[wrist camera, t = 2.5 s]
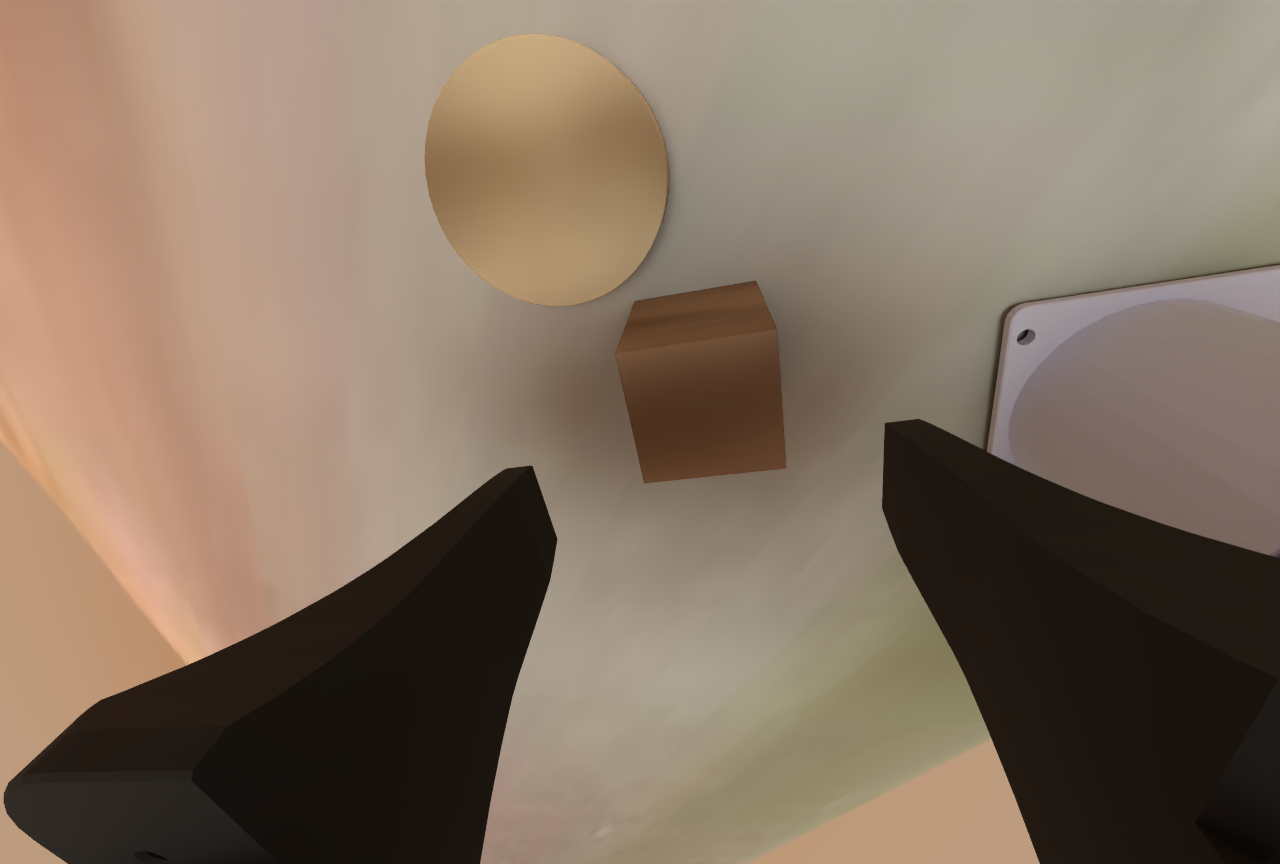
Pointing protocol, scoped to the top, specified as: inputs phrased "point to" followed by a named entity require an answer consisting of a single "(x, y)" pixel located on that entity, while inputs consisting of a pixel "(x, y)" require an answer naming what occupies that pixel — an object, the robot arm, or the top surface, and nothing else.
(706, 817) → the top surface
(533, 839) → the top surface
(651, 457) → the walnut block
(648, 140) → the maple plinth
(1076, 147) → the top surface
